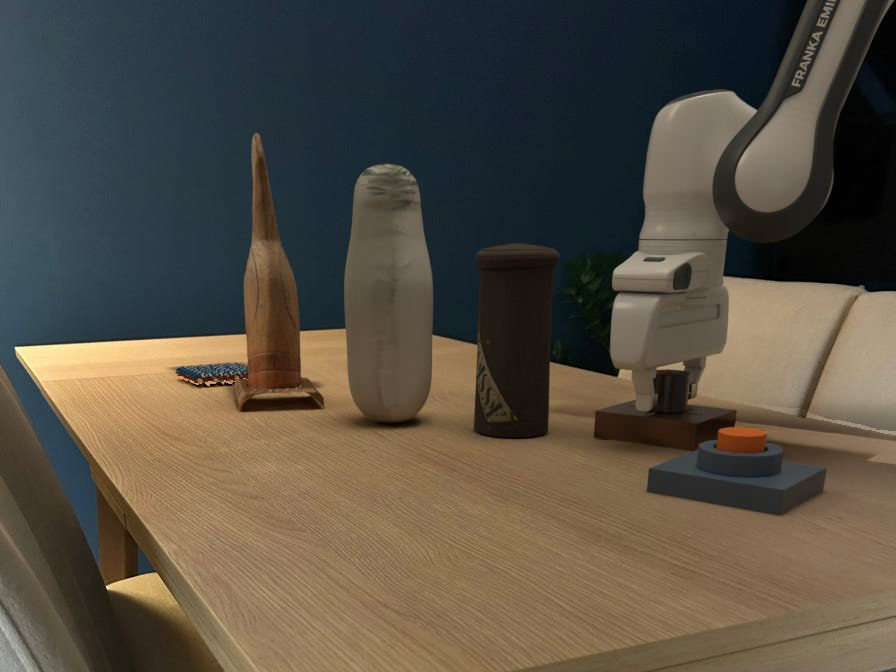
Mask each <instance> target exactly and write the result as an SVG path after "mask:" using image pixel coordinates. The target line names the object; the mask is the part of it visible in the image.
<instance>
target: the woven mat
mask: <svg viewBox="0 0 896 672" xmlns="http://www.w3.org/2000/svg"><path fill="white" fill-rule="evenodd" d="M175 375H176V376H177V377H178V376H183V377H184V378H185V379H186V378H187V379H189V380H192V381H194V383H199V384H200V383H203V384H204V383H205V382H208V381H213V382H218V381H220V382H224V380H226V381H229V382H233V381H237V380H239V379H243V378H246V379H248V365H247V366H246V365H245V364H243V365H242V364H241V363H238V362H236V361H235V362H234V363H232V362H230V363H229V362H227V363H222V364H221V363H217V364H215V363H213V364H212V363H211V364H210V363H209V364H207V365H206V364H204V365H203V364H199V365H196V364H195V366H193V365H189V366H187V365H186V366H185V365H183V366H180V367H176V369H175ZM231 380H233V381H231Z"/></svg>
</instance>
